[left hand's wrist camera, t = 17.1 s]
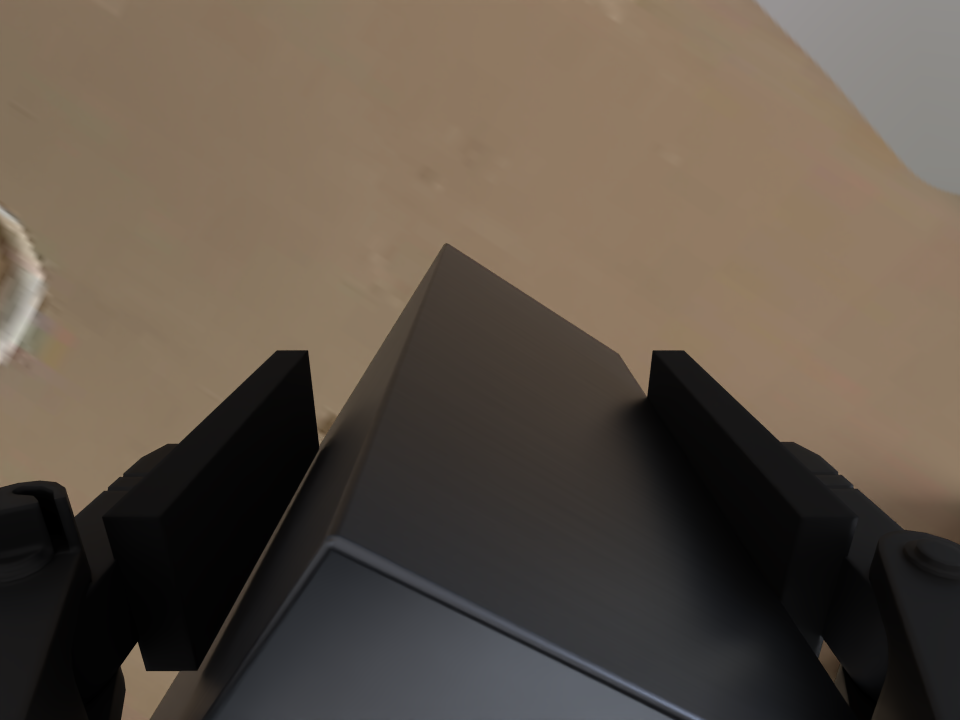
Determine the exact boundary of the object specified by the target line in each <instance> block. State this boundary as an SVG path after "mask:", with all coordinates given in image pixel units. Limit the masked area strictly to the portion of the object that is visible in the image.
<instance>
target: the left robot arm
mask: <svg viewBox="0 0 960 720" xmlns="http://www.w3.org/2000/svg"><path fill="white" fill-rule="evenodd" d="M647 398H648V399H649V401H650V403H651V404H652V406H653V407H654V409H655V410H656V412H657V413H658V415H659V416H660V418H661V419H662V421H663V422H664V424H665V425H666V427H667V429H668V430H669V432H670V433H671V435H672V436H673V438H674V439H675V441H676V442H677V444H678V445H679V447H680V448H681V450H682V451H683V453H684V455H685V456H686V458H687V459H688V461H689V462H690V464H691V465H692V467H693V468H694V470H695V471H696V473H697V474H698V476H699V477H700V479H701V481H702V482H703V484H704V485H705V487H706V488H707V490H708V491H709V493H710V494H711V496H712V497H713V499H714V500H715V502H716V503H717V505H718V507H719V508H720V510H721V511H722V513H723V514H724V516H725V517H726V519H727V520H728V522H729V523H730V525H731V526H732V528H733V529H734V531H735V533H736V534H737V536H738V537H739V539H740V540H741V542H742V543H743V545H744V546H745V548H746V549H747V551H748V552H749V554H750V555H751V557H752V559H753V560H754V562H755V563H756V565H757V566H758V568H759V569H760V571H761V572H762V574H763V575H764V577H765V578H766V580H767V581H768V583H769V584H770V586H771V588H772V589H773V591H774V592H775V594H776V595H777V597H778V598H779V600H780V601H781V603H782V604H783V606H784V607H785V609H786V610H787V612H788V614H789V615H790V617H791V618H792V620H793V621H794V623H795V624H796V626H797V627H798V629H799V630H800V632H801V633H802V635H803V636H804V638H805V640H806V641H807V643H808V644H809V646H810V647H811V649H812V650H813V652H814V653H815V655H816V656H817V658H818V657H819V654H820V650H821V647H822V644H823V640H825V642H826V643H827V645H828V646H829V648H830V649H831V650H832V652H833V653H834V655H835V656H836V657H837V659H838V660H839V662H840V666H839V670H838V673H837V676H836V679H835V683H834V684H835V685H836V687H837V688H838V690H839V692H840V693H841V695H842V696H843V698H844V699H845V701H846V702H847V704H848V705H849V707H850V708H851V710H852V711H853V713H854V714H855V716H856V718H857V719H858V720H960V545H959V544H957V543H954V542H952V541H950V540H948V539H944V538H941V537H938V536H934V535H931V534H928V533H924V532H916V531H908V530H904V529H902V528H901V527H900V526H899V525H898V524H897V523H896V522H895V521H893V520H892V519H891V518H890V517H889V516H888V515H887V514H885V513H884V512H883V511H882V510H881V509H880V508H879V507H877V506H876V505H875V504H874V503H873V502H872V501H871V500H870V499H868V498H867V497H866V496H865V495H864V494H863V493H862V492H860V491H859V490H858V489H854V488H853V485H852V484H851V483H850V482H849V481H848V480H847V479H846V478H844V477H843V476H842V475H838V471H837V470H835V469H834V468H833V467H832V466H831V465H830V464H829V463H827V462H826V461H825V460H824V459H823V458H822V457H821V456H819V455H817V454H815V453H814V452H812V451H810V450H808V449H806V448H804V447H802V446H800V445H798V444H796V443H794V442H780V441H779V440H778V439H776V438H775V437H774V436H773V435H772V434H771V433H770V432H769V431H768V430H767V429H766V428H765V427H764V426H763V425H762V424H761V423H760V422H759V421H758V420H756V419H755V418H754V417H753V416H752V415H751V414H750V413H749V412H748V411H747V410H746V409H745V408H744V407H743V406H742V405H741V404H740V403H739V402H738V401H736V400H735V399H734V398H733V397H732V396H731V395H730V394H729V393H728V392H727V391H726V390H725V389H724V388H723V387H722V386H721V385H720V384H719V383H718V382H716V381H715V380H714V379H713V378H712V377H711V376H710V375H709V374H708V373H707V372H706V371H705V370H704V369H703V368H702V367H701V366H700V365H699V364H698V363H696V362H695V361H694V360H693V359H692V358H691V357H690V356H689V355H688V354H687V353H686V352H685V351H653V353H652V361H651V370H650V378H649V387H648V395H647ZM318 451H319V441H318V432H317V423H316V415H315V406H314V398H313V389H312V381H311V372H310V363H309V355H308V350H277V351H276V352H275V353H274V354H273V355H272V356H271V357H270V358H268V359H267V360H266V361H265V362H264V363H263V364H262V365H261V366H260V367H259V368H258V369H257V370H256V371H255V372H254V373H253V374H252V375H251V376H250V377H249V378H247V379H246V380H245V381H244V382H243V383H242V384H241V385H240V386H239V387H238V388H237V389H236V390H235V391H234V392H233V393H232V394H231V395H230V396H229V397H227V398H226V399H225V400H224V401H223V402H222V403H221V404H220V405H219V406H218V407H217V408H216V409H215V410H214V411H213V412H212V413H211V414H210V415H209V416H207V417H206V418H205V419H204V420H203V421H202V422H201V423H200V424H199V425H198V426H197V427H196V428H195V429H194V430H193V431H192V432H191V433H190V434H189V435H188V436H186V437H185V438H184V439H183V440H182V441H181V442H180V443H179V444H167V445H165V446H163V447H161V448H159V449H157V450H155V451H153V452H151V453H149V454H148V455H146V456H144V457H142V458H141V459H139V460H138V461H137V462H136V463H135V464H134V465H133V466H132V467H130V468H129V469H128V470H127V471H126V472H125V473H124V474H123V477H119V478H118V479H117V480H116V481H115V482H114V483H112V484H111V485H110V486H109V487H108V491H103V492H102V493H101V494H100V495H99V496H98V497H97V498H96V499H94V500H93V501H92V502H91V503H90V504H89V505H88V506H86V507H85V508H84V509H83V510H82V511H81V512H80V513H79V514H77V515H76V516H75V517H74V514H73V511H72V508H71V505H70V501H69V498H68V495H67V492H66V489H65V487H63V486H61V485H60V484H58V483H57V482H49V481H32V482H23V483H16V484H12V485H9V486H5V487H1V488H0V720H121V716H122V710H123V704H124V697H125V691H126V689H125V681H124V676H123V673H122V670H121V664H122V663H123V662H124V660H125V659H126V657H127V656H128V655H129V653H130V652H131V650H132V649H133V647H134V646H135V645H136V643H137V642H138V644H139V647H140V651H141V654H142V658H143V661H144V665H145V668H146V671H198V669H199V667H200V665H201V664H202V662H203V660H204V658H205V656H206V654H207V653H208V651H209V649H210V647H211V645H212V644H213V642H214V640H215V638H216V636H217V634H218V633H219V631H220V629H221V627H222V625H223V624H224V622H225V620H226V618H227V616H228V614H229V613H230V611H231V609H232V607H233V605H234V604H235V602H236V600H237V598H238V596H239V594H240V593H241V591H242V589H243V587H244V585H245V584H246V582H247V580H248V578H249V576H250V574H251V573H252V571H253V569H254V567H255V565H256V564H257V562H258V560H259V558H260V556H261V554H262V553H263V551H264V549H265V547H266V545H267V544H268V542H269V540H270V538H271V536H272V534H273V533H274V531H275V529H276V527H277V525H278V524H279V522H280V520H281V518H282V516H283V514H284V513H285V511H286V509H287V507H288V505H289V504H290V502H291V500H292V498H293V496H294V494H295V493H296V491H297V489H298V487H299V485H300V484H301V482H302V480H303V478H304V476H305V474H306V473H307V471H308V469H309V467H310V465H311V464H312V462H313V460H314V458H315V456H316V454H317V453H318Z"/></svg>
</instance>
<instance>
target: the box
mask: <svg viewBox="0 0 960 720" xmlns="http://www.w3.org/2000/svg"><path fill="white" fill-rule="evenodd" d="M150 720H858V719H857V718H856V716H855V714H854V713H853V711H852V710H851V708H850V707H849V705H848V704H847V702H846V701H845V699H844V698H843V696H842V695H841V693H840V692H839V690H838V688H837V687H836V685H835V684H834V682H833V681H832V679H831V678H830V676H829V675H828V673H827V672H826V670H825V669H824V667H823V666H822V664H821V662H820V661H819V659H818V658H817V656H816V655H815V653H814V652H813V650H812V649H811V647H810V646H809V644H808V643H807V641H806V640H805V638H804V636H803V635H802V633H801V632H800V630H799V629H798V627H797V626H796V624H795V623H794V621H793V620H792V618H791V617H790V615H789V614H788V612H787V610H786V609H785V607H784V606H783V604H782V603H781V601H780V600H779V598H778V597H777V595H776V594H775V592H774V591H773V589H772V588H771V586H770V584H769V583H768V581H767V580H766V578H765V577H764V575H763V574H762V572H761V571H760V569H759V568H758V566H757V565H756V563H755V562H754V560H753V559H752V557H751V555H750V554H749V552H748V551H747V549H746V548H745V546H744V545H743V543H742V542H741V540H740V539H739V537H738V536H737V534H736V533H735V531H734V529H733V528H732V526H731V525H730V523H729V522H728V520H727V519H726V517H725V516H724V514H723V513H722V511H721V510H720V508H719V507H718V505H717V503H716V502H715V500H714V499H713V497H712V496H711V494H710V493H709V491H708V490H707V488H706V487H705V485H704V484H703V482H702V481H701V479H700V477H699V476H698V474H697V473H696V471H695V470H694V468H693V467H692V465H691V464H690V462H689V461H688V459H687V458H686V456H685V455H684V453H683V451H682V450H681V448H680V447H679V445H678V444H677V442H676V441H675V439H674V438H673V436H672V435H671V433H670V432H669V430H668V429H667V427H666V425H665V424H664V422H663V421H662V419H661V418H660V416H659V415H658V413H657V412H656V410H655V409H654V407H653V406H652V404H651V403H650V401H649V399H648V398H647V396H646V395H645V393H644V392H643V390H642V389H641V387H640V386H639V384H638V383H637V381H636V380H635V378H634V377H633V375H632V373H631V372H630V370H629V369H628V367H627V366H626V364H625V363H624V361H623V360H622V358H621V357H620V355H619V354H618V353H616V352H615V351H613V350H612V349H610V348H609V347H607V346H606V345H604V344H602V343H601V342H599V341H598V340H596V339H595V338H593V337H592V336H590V335H589V334H587V333H585V332H584V331H582V330H581V329H579V328H578V327H576V326H575V325H573V324H572V323H570V322H568V321H567V320H565V319H564V318H562V317H561V316H559V315H558V314H556V313H555V312H553V311H551V310H550V309H548V308H547V307H545V306H544V305H542V304H541V303H539V302H538V301H536V300H534V299H533V298H531V297H530V296H528V295H527V294H525V293H524V292H522V291H521V290H519V289H517V288H516V287H514V286H513V285H511V284H510V283H508V282H507V281H505V280H504V279H502V278H500V277H499V276H497V275H496V274H494V273H493V272H491V271H490V270H488V269H487V268H485V267H483V266H482V265H480V264H479V263H477V262H476V261H474V260H473V259H471V258H470V257H468V256H466V255H465V254H463V253H462V252H460V251H459V250H457V249H456V248H454V247H453V246H451V245H449V244H447V243H446V244H444V245H443V247H442V249H441V250H440V252H439V254H438V255H437V257H436V258H435V260H434V262H433V263H432V265H431V266H430V268H429V270H428V271H427V273H426V274H425V276H424V278H423V279H422V281H421V283H420V284H419V286H418V287H417V289H416V291H415V292H414V294H413V295H412V297H411V299H410V300H409V302H408V304H407V305H406V307H405V308H404V310H403V312H402V313H401V315H400V316H399V318H398V320H397V321H396V323H395V325H394V326H393V328H392V329H391V331H390V333H389V334H388V336H387V337H386V339H385V341H384V342H383V344H382V345H381V347H380V349H379V350H378V352H377V354H376V355H375V357H374V358H373V360H372V362H371V363H370V365H369V366H368V368H367V370H366V371H365V373H364V375H363V376H362V378H361V379H360V381H359V383H358V384H357V386H356V387H355V389H354V391H353V392H352V394H351V396H350V397H349V399H348V400H347V402H346V404H345V405H344V407H343V408H342V410H341V412H340V413H339V415H338V417H337V418H336V420H335V421H334V423H333V425H332V426H331V428H330V429H329V431H328V433H327V434H326V436H325V437H324V439H323V441H322V442H321V444H320V446H319V451H318V453H317V454H316V456H315V458H314V460H313V462H312V464H311V465H310V467H309V469H308V471H307V473H306V474H305V476H304V478H303V480H302V482H301V484H300V485H299V487H298V489H297V491H296V493H295V494H294V496H293V498H292V500H291V502H290V504H289V505H288V507H287V509H286V511H285V513H284V514H283V516H282V518H281V520H280V522H279V524H278V525H277V527H276V529H275V531H274V533H273V534H272V536H271V538H270V540H269V542H268V544H267V545H266V547H265V549H264V551H263V553H262V554H261V556H260V558H259V560H258V562H257V564H256V565H255V567H254V569H253V571H252V573H251V574H250V576H249V578H248V580H247V582H246V584H245V585H244V587H243V589H242V591H241V593H240V594H239V596H238V598H237V600H236V602H235V604H234V605H233V607H232V609H231V611H230V613H229V614H228V616H227V618H226V620H225V622H224V624H223V625H222V627H221V629H220V631H219V633H218V634H217V636H216V638H215V640H214V642H213V644H212V645H211V647H210V649H209V651H208V653H207V654H206V656H205V658H204V660H203V662H202V664H201V665H200V667H199V669H198V671H180V672H179V673H178V675H177V676H176V678H175V680H174V681H173V683H172V684H171V686H170V688H169V689H168V691H167V692H166V694H165V696H164V697H163V699H162V701H161V702H160V704H159V705H158V707H157V709H156V710H155V712H154V713H153V715H152V717H151V718H150Z"/></svg>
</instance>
